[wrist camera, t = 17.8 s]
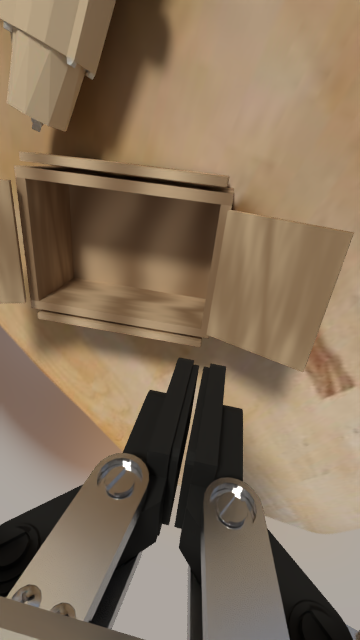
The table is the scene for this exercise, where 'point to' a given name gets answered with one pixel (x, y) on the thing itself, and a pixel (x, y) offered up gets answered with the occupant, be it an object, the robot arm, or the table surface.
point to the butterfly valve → (53, 54)
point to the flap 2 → (275, 285)
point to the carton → (122, 244)
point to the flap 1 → (9, 250)
